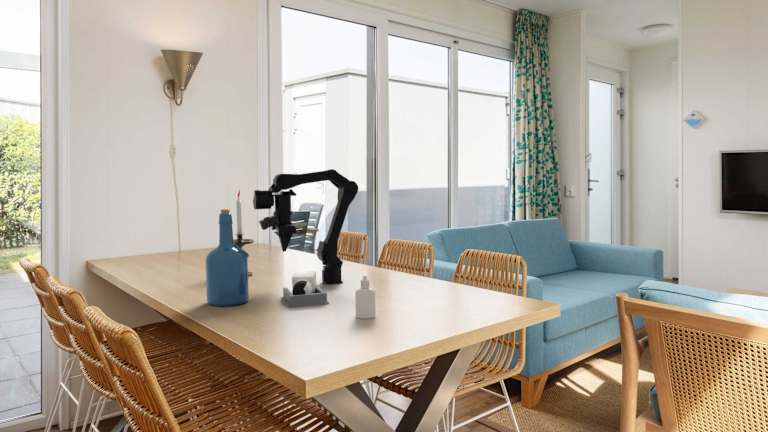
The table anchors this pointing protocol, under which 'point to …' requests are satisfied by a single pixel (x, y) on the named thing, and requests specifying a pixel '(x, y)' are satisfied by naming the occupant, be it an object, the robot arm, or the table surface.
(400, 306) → the table surface
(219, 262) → the wine bottle
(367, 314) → the eye dropper bottle
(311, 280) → the medicine bottle
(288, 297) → the u rest
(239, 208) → the candlestick
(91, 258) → the table surface
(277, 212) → the robot arm
